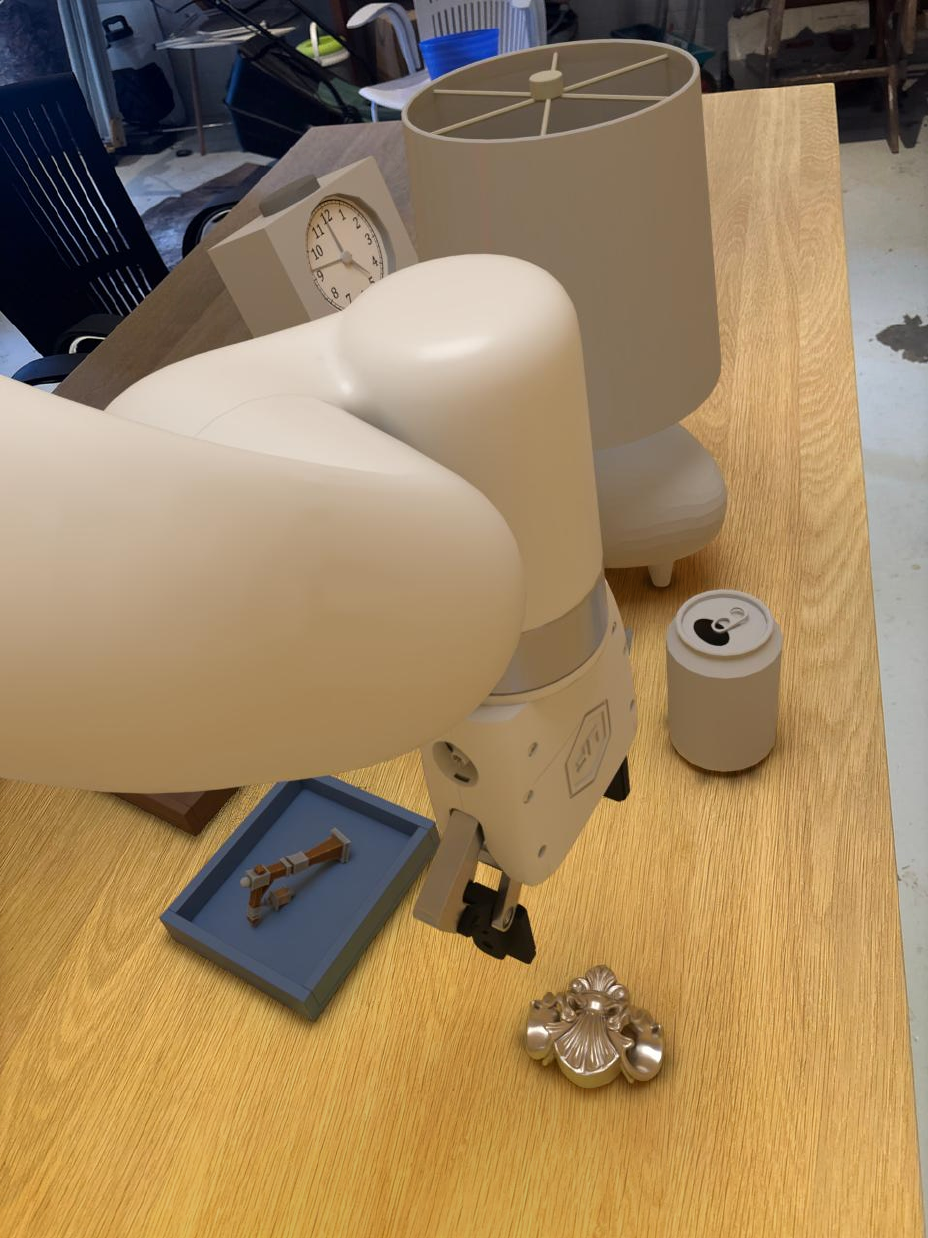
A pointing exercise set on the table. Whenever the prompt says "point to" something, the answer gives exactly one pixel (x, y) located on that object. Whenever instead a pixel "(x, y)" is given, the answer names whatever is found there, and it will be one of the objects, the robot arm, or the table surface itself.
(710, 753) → the can
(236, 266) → the alarm clock
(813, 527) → the table surface
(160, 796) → the walnut tray
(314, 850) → the wooden post with brackets
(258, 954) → the blue tray
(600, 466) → the table lamp
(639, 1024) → the ornament
